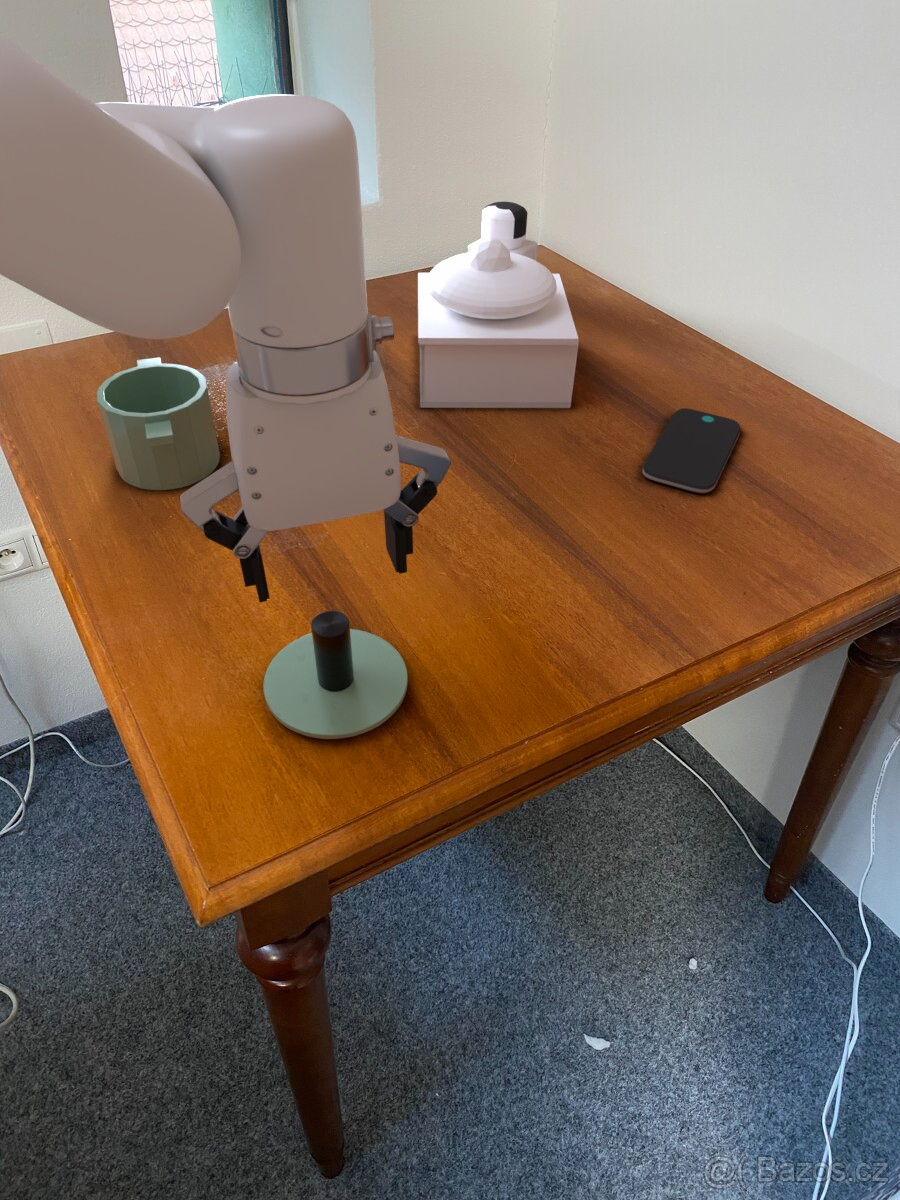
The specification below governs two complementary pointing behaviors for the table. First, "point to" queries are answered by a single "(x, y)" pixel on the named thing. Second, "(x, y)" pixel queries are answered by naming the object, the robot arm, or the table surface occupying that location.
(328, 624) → the pot lid
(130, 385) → the pot
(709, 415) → the smartphone
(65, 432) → the table surface
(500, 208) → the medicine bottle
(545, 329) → the white box
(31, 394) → the table surface
